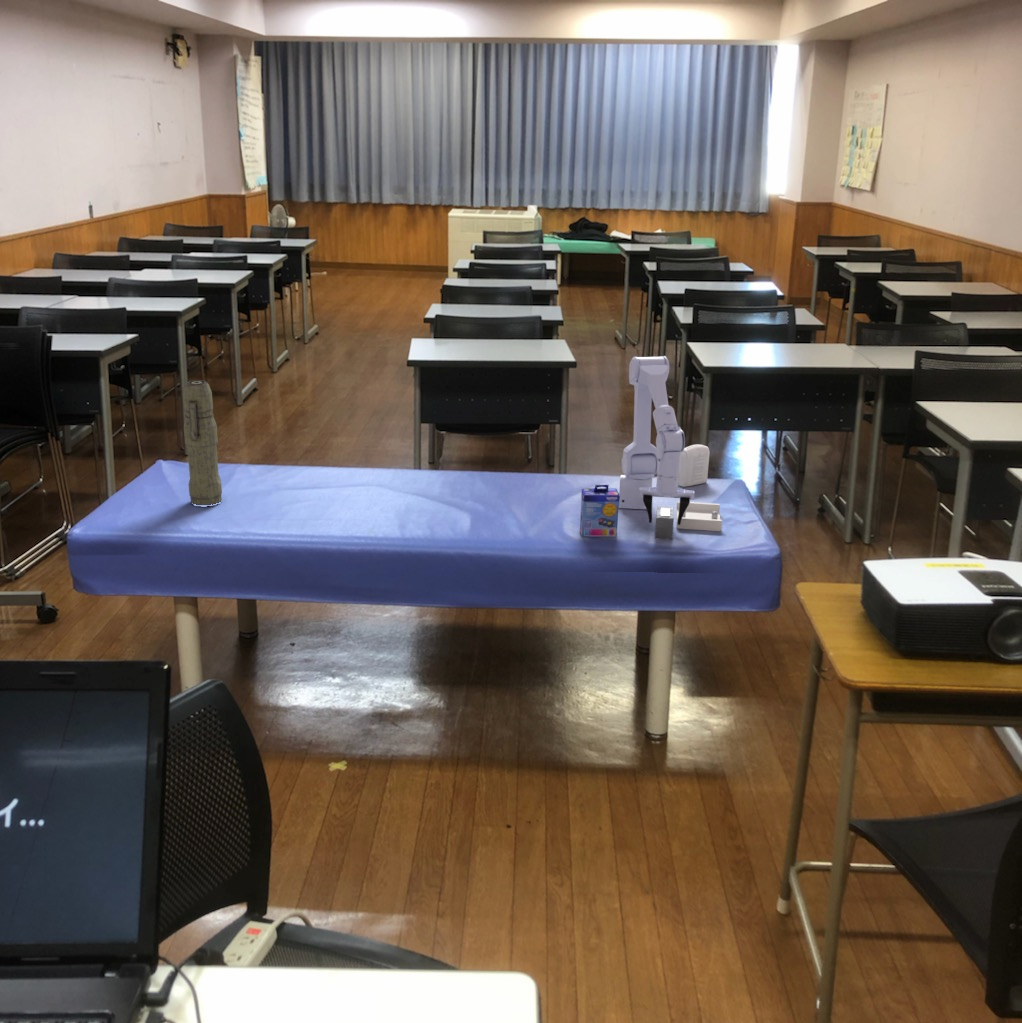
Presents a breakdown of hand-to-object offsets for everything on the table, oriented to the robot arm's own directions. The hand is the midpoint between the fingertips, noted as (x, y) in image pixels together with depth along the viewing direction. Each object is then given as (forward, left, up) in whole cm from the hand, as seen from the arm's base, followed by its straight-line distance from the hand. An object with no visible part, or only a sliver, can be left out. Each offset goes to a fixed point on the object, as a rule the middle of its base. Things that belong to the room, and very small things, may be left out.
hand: (664, 522), depth 291 cm
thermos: (-130, 0, -3) cm, 130 cm away
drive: (0, 0, -3) cm, 3 cm away
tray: (+9, +11, -3) cm, 15 cm away
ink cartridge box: (-18, -4, -3) cm, 18 cm away
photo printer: (+8, +44, -3) cm, 45 cm away
